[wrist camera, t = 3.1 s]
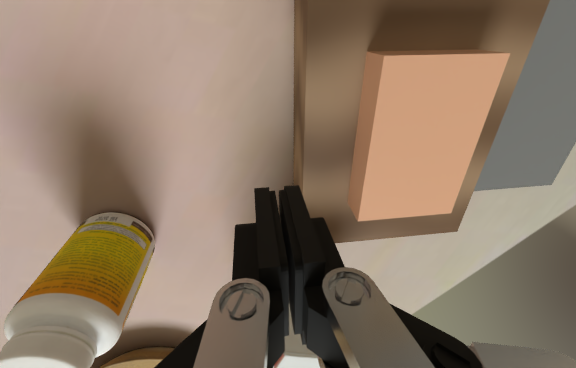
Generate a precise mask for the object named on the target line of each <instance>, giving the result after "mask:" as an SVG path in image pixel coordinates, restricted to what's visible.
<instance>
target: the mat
mask: <svg viewBox="0 0 576 368" xmlns="http://www.w3.org/2000/svg"><path fill="white" fill-rule="evenodd" d="M575 142H576V0H550V2H549V4H548V7H547V9H546V12H545V14H544V17H543V19H542V22H541V24H540V27H539V29H538V32H537V34H536V37H535V39H534V41H533V44H532V46H531V49H530V51H529V54H528V56H527V59H526V61H525V64H524V66H523V69H522V71H521V74H520V76H519V79H518V81H517V84H516V86H515V89H514V91H513V94H512V96H511V99H510V101H509V104H508V106H507V109H506V111H505V114H504V116H503V119H502V121H501V124H500V126H499V129H498V131H497V134H496V136H495V139H494V141H493V144H492V146H491V149H490V151H489V154H488V156H487V158H486V161H485V163H484V166H483V168H482V171H481V173H480V176H479V178H478V181H477V183H476V186H475V188H474V191H480V190H492V189H505V188H517V187H530V186H542V185H552V183H553V181H554V180H555V178H556V176H557V174H558V173H559V171H560V169H561V167H562V165H563V164H564V162H565V160H566V158H567V157H568V155H569V153H570V151H571V150H572V148H573V146H574V144H575Z"/></svg>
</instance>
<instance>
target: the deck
mask: <svg viewBox="0 0 576 368" xmlns="http://www.w3.org/2000/svg"><path fill="white" fill-rule="evenodd" d="M549 2H550V0H295V2H294V173H293V186H295V185H299V186H300V189H301V192H302V195H303V198H304V201H305V204H306V207H307V209H308V212H309V215H310V218H318V217H323V218H324V220H325V222H326V224H327V226H328V229H329V231H330V233H331V236H332V238H333V241H334V243H343V242H353V241H363V240H374V239H384V238H394V237H405V236H415V235H426V234H436V233H446V232H457V231H458V228H459V226H460V223H461V221H462V218H463V216H464V213H465V211H466V208H467V206H468V203H469V201H470V198H471V196H472V193H473V191H474V188H475V186H476V183H477V181H478V178H479V176H480V173H481V171H482V168H483V166H484V163H485V161H486V158H487V156H488V154H489V151H490V149H491V146H492V144H493V141H494V139H495V136H496V134H497V131H498V129H499V126H500V124H501V121H502V119H503V116H504V114H505V111H506V109H507V106H508V104H509V101H510V99H511V96H512V94H513V91H514V89H515V86H516V84H517V81H518V79H519V76H520V74H521V71H522V69H523V66H524V64H525V61H526V59H527V56H528V54H529V51H530V49H531V46H532V44H533V41H534V39H535V37H536V34H537V32H538V29H539V27H540V24H541V22H542V19H543V17H544V14H545V12H546V9H547V7H548V4H549ZM473 49H479V50H488V51H496V52H505V53H510V56H509V59H508V61H507V64H506V67H505V69H504V72H503V75H502V77H501V80H500V83H499V86H498V88H497V91H496V94H495V96H494V99H493V102H492V104H491V107H490V110H489V112H488V115H487V118H486V121H485V123H484V126H483V129H482V131H481V134H480V137H479V139H478V142H477V145H476V148H475V150H474V153H473V156H472V158H471V161H470V164H469V166H468V169H467V172H466V175H465V177H464V180H463V183H462V185H461V188H460V191H459V193H458V196H457V199H456V201H455V204H454V207H453V210H452V212H451V213H449V214H437V215H426V216H415V217H403V218H392V219H381V220H369V221H357V219H356V217H355V215H354V214H353V212H352V210H351V208H350V206H349V205H348V203H347V202H348V194H349V186H350V178H351V170H352V163H353V155H354V147H355V139H356V131H357V124H358V116H359V108H360V100H361V92H362V84H363V77H364V69H365V61H366V53H367V51H419V50H473Z"/></svg>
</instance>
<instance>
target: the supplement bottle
mask: <svg viewBox="0 0 576 368" xmlns="http://www.w3.org/2000/svg"><path fill="white" fill-rule="evenodd" d="M154 249H155V239H154V236H153V234H152V232H151V230H150V229H149V228H148V227H147V226H146V225H145V224H144V223H143V222H141V221H140V220H138V219H136V218H134V217H132V216H129V215H126V214H122V213H112V212H110V213H101V214H97V215H94V216H92V217H90V218H88V219H87V220H85V221H84V222H83V223H82V224H81V225H80V226H79V227H78V228H77V230H76V231H75V232H74V233H73V234H72V236H71V237H70V238H69V239H68V241H67V242H66V243H65V244H64V246H63V247H62V248H61V249H60V250H59V252H58V253H57V254H56V255H55V257H54V258H53V259H52V260H51V262H50V263H49V264H48V265H47V267H46V268H45V269H44V270H43V272H42V273H41V274H40V275H39V276H38V278H37V279H36V280H35V281H34V283H33V284H32V285H31V286H30V287H29V289H28V290H27V291H26V292H25V294H24V295H23V296H22V297H21V298H20V300H19V301H18V302H17V303H16V304H15V306H14V307H13V309H12V310H11V311H10V313H9V314H8V315H7V317H6V320H5V323H4V332H5V335H6V337H7V339H8V342H7V343H6V344H5V345H4V346H3V348H2V351H1V352H0V368H90V367H91V365H92V364H93V362H94V358H96V357H98V356H100V355H102V354H104V353H106V352H107V351H109V350H110V349H111V348H112V347H113V346H114V345H115V344H116V342H117V341H118V339H119V337H120V335H121V333H122V330H123V328H124V325H125V323H126V320H127V318H128V315H129V313H130V310H131V308H132V305H133V303H134V300H135V298H136V295H137V293H138V291H139V288H140V286H141V283H142V281H143V278H144V275H145V273H146V270H147V268H148V266H149V263H150V260H151V258H152V255H153V252H154Z"/></svg>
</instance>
